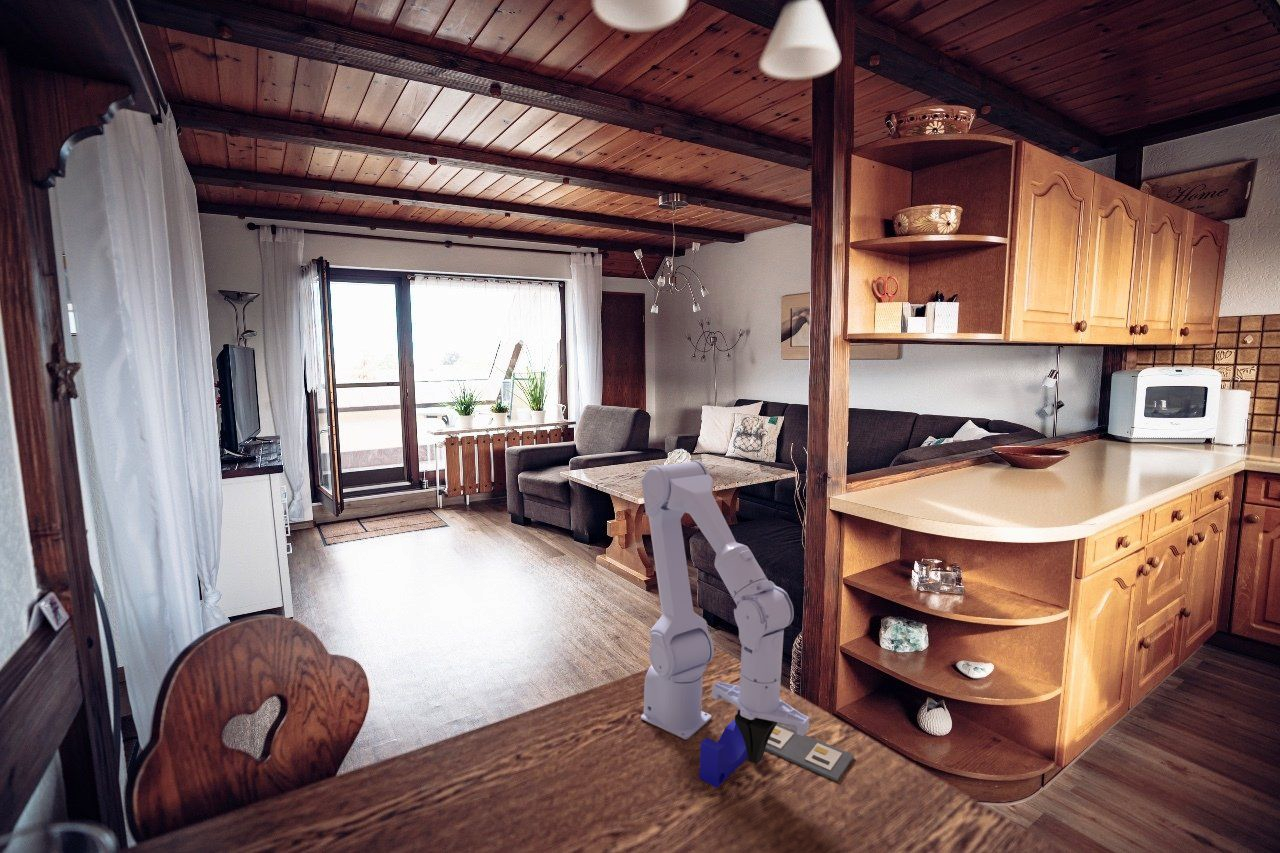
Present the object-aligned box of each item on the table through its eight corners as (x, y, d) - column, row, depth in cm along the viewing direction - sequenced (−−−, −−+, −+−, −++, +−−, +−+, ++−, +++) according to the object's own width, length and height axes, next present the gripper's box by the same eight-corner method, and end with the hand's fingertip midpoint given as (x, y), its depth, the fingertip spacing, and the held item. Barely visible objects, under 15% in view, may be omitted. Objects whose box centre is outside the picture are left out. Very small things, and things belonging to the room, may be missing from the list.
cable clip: (733, 737, 104) (734, 702, 103) (757, 748, 101) (759, 713, 100) (691, 775, 94) (692, 738, 94) (716, 789, 92) (718, 750, 91)
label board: (746, 741, 102) (746, 737, 102) (765, 721, 108) (765, 717, 108) (837, 782, 93) (837, 777, 93) (853, 757, 99) (854, 753, 99)
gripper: (702, 666, 92) (698, 752, 94) (796, 703, 83) (790, 797, 85) (726, 648, 97) (722, 729, 99) (817, 681, 89) (811, 769, 91)
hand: (755, 759), depth 93 cm, fingers closed
